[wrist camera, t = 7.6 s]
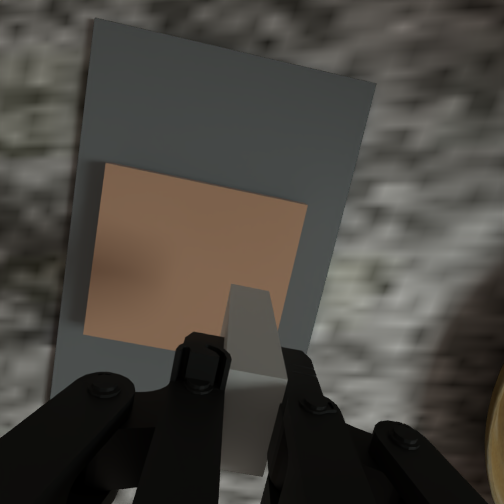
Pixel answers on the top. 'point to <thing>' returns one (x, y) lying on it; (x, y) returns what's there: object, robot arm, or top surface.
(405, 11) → the top surface
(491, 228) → the top surface
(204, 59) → the mat
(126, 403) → the robot arm
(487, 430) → the plant saucer
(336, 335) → the top surface
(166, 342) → the tile
